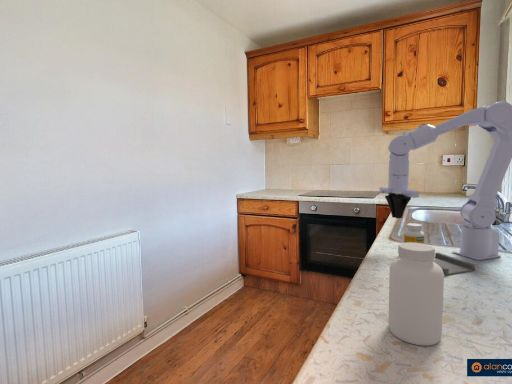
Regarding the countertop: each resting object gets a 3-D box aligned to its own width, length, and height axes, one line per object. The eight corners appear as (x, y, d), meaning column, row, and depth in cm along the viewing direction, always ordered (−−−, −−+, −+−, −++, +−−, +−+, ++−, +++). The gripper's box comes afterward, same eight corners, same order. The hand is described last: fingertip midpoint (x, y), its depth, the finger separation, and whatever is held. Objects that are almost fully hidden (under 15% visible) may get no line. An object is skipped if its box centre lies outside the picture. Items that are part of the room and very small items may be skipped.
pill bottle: (379, 321, 54) (381, 240, 53) (421, 319, 55) (424, 239, 53) (404, 349, 46) (408, 254, 45) (453, 345, 47) (458, 252, 45)
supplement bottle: (409, 251, 94) (410, 221, 93) (427, 256, 90) (428, 224, 89) (399, 255, 91) (400, 224, 90) (417, 259, 87) (418, 227, 86)
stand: (437, 257, 88) (437, 252, 88) (474, 270, 78) (475, 264, 78) (410, 261, 85) (410, 256, 85) (445, 275, 75) (445, 269, 75)
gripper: (372, 174, 100) (371, 214, 102) (406, 176, 86) (404, 222, 88) (389, 174, 102) (388, 213, 104) (425, 175, 89) (423, 221, 90)
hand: (397, 217), depth 96 cm, fingers closed
